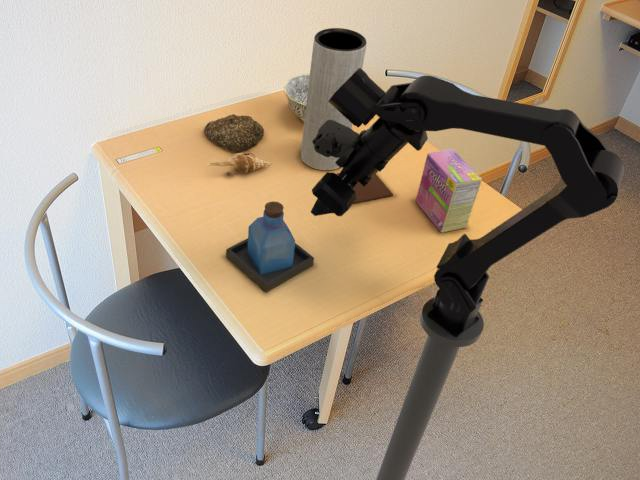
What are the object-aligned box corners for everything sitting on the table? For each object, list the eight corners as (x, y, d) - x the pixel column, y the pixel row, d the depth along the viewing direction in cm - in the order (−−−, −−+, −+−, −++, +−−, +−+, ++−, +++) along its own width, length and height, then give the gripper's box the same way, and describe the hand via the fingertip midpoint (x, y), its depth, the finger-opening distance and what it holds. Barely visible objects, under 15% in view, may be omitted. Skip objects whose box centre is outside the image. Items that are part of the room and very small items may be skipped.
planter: (292, 150, 145) (305, 31, 126) (331, 141, 148) (350, 24, 129) (313, 175, 138) (330, 54, 120) (354, 165, 141) (377, 46, 123)
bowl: (272, 104, 159) (275, 76, 154) (334, 97, 162) (338, 69, 157) (294, 140, 148) (297, 110, 143) (359, 132, 151) (364, 103, 146)
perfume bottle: (278, 244, 121) (283, 193, 113) (292, 266, 117) (298, 214, 109) (247, 252, 119) (250, 200, 111) (260, 274, 115) (264, 222, 107)
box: (414, 201, 133) (427, 152, 125) (438, 196, 134) (453, 148, 126) (440, 233, 126) (456, 184, 118) (466, 228, 127) (483, 179, 119)
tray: (313, 265, 118) (314, 257, 117) (265, 292, 113) (266, 284, 112) (272, 233, 124) (273, 225, 123) (225, 257, 119) (226, 249, 118)
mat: (392, 196, 134) (393, 194, 134) (348, 205, 131) (349, 203, 131) (370, 168, 141) (370, 167, 141) (327, 176, 138) (328, 175, 138)
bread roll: (230, 158, 142) (231, 138, 138) (196, 132, 149) (196, 113, 145) (275, 138, 148) (276, 119, 145) (240, 115, 155) (241, 96, 151)
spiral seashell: (256, 156, 143) (257, 138, 140) (271, 167, 140) (272, 149, 137) (205, 177, 137) (205, 159, 134) (219, 189, 134) (219, 170, 131)
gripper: (363, 83, 106) (313, 142, 118) (314, 136, 94) (263, 195, 106) (414, 130, 106) (358, 183, 118) (371, 188, 94) (314, 241, 106)
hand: (324, 199), depth 112 cm, fingers open, 9 cm apart
